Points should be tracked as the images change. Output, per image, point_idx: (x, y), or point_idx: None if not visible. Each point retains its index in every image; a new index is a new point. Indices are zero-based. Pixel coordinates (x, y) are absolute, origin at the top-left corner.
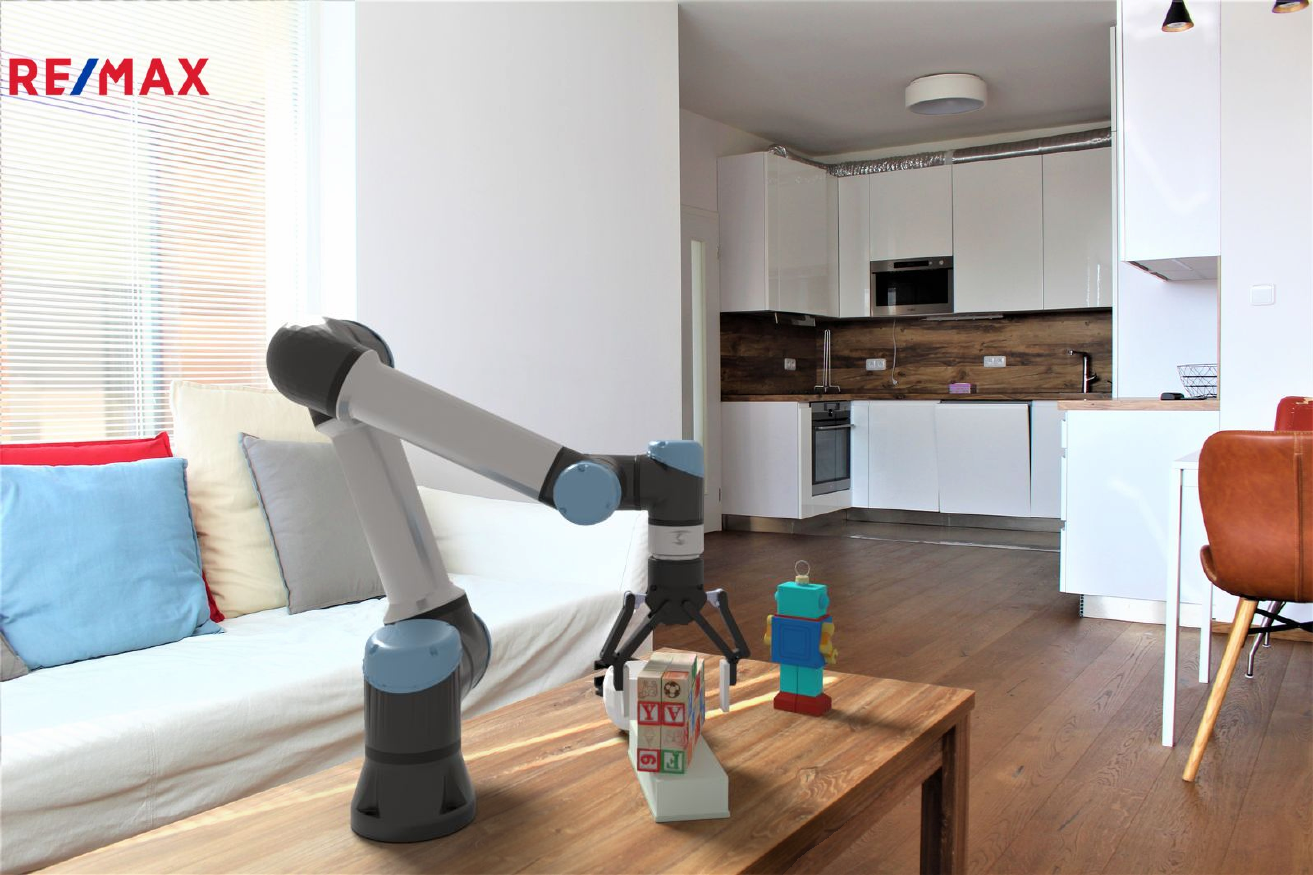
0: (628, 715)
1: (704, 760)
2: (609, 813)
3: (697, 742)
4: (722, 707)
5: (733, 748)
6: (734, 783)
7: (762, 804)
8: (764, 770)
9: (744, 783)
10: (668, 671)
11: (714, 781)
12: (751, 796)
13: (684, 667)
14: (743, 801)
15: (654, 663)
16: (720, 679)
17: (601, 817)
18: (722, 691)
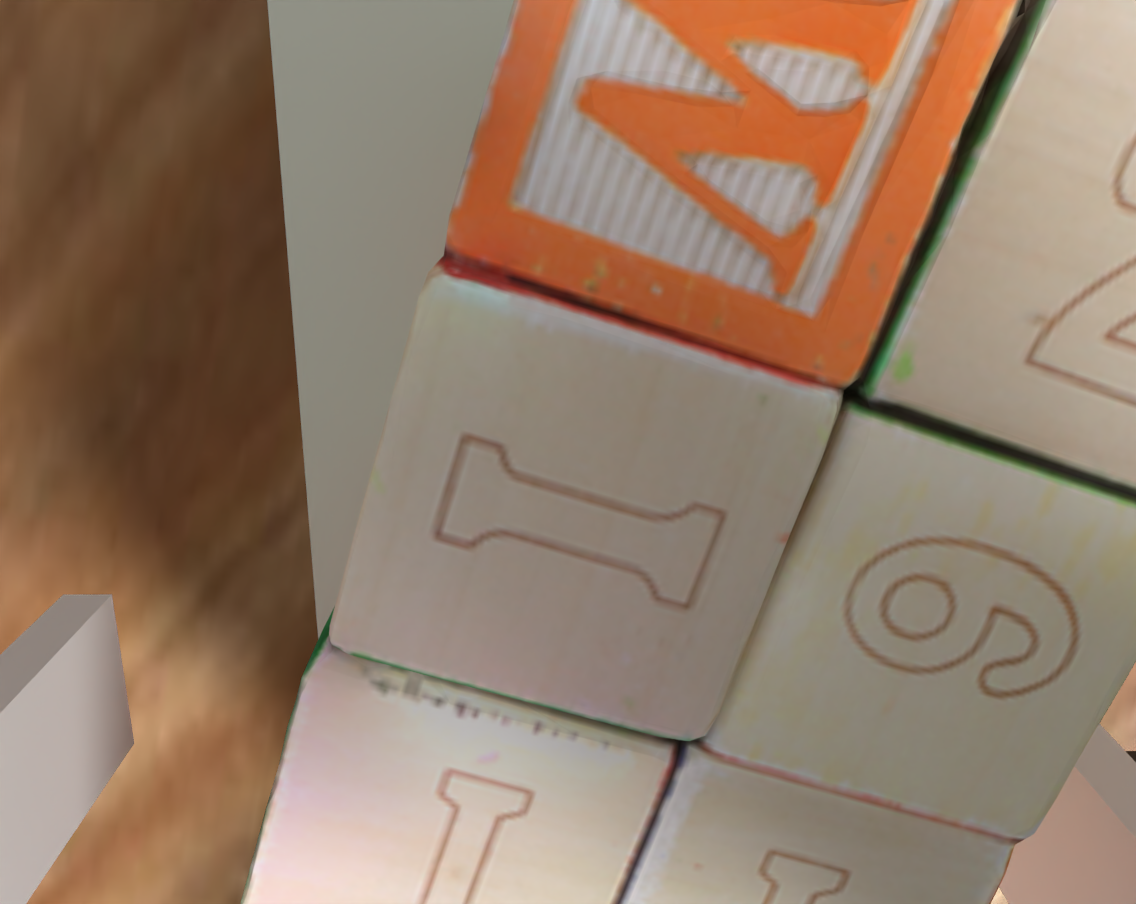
0: None
1: (377, 268)
2: None
3: None
4: (107, 656)
5: (152, 863)
6: (213, 422)
7: (97, 104)
8: (25, 569)
9: (159, 413)
10: (803, 368)
11: None
12: (145, 229)
13: (480, 504)
14: (200, 165)
15: (910, 832)
16: (3, 887)
17: None
18: (39, 744)
